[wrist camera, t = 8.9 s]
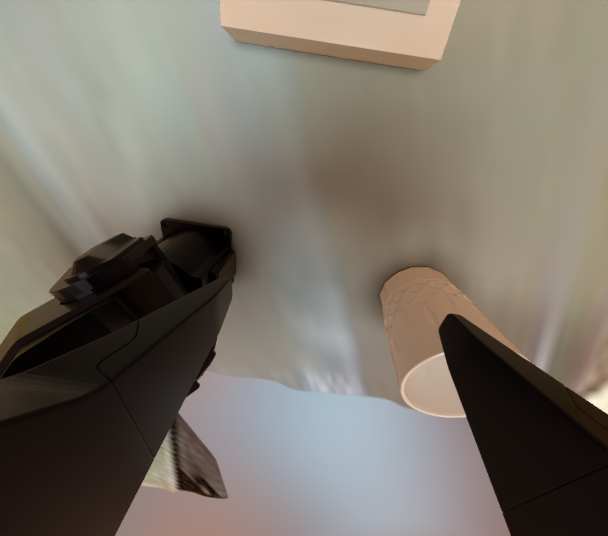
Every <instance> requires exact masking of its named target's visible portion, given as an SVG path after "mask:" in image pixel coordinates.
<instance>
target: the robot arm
mask: <svg viewBox="0 0 608 536" xmlns="http://www.w3.org/2000/svg"><path fill="white" fill-rule="evenodd" d="M166 223H167V224H168V225H169V226H167V225H166ZM160 224H161V229H162V234H163V238H161V239H160V240H158V241H156V240H155V238H154V237H153V236H152V235H149V236H146V237H144V238H142V237H138V238H136V237H134V238H133V237H131V236H129V235H126V234H124V233H122V234H119V235H116V236H114V237H112V238H110V239H108V240H106V241H104V242H102V243H100V244H98V245H97V246H95V247H93V248H91V249H90V250H88V251H87V252H86V253H84V254H83V255H82V256H80V257H79V258H78V259H76V260H75V261H74V263H73V267H71V268H70V269H68V271H67V272H66V273H65V274H64V275H63V276H62V277H61V278H60V279H59V280H58V282H57V283H56V284H55V285H54V286H53V287H52V288H51V289H50V291H49V292H50V293H51V294H52V295H53V296H54V297H55V298H54V299H52V300H50V301H48V302H47V303H45V304H43V305H41V306H39V307H38V308H36V309H34V310H32V311H30V312H29V313H27V314H25V315H24V316H22V317H21V318H19V320H18V321H17V322H16V323H15V325H14V326H13V328H12V329H11V330H10V332H9V333H8V335H7V336H6V338H5V339H4V341H3V342H2V343H1V345H0V536H115V534H116V532H117V530H118V528H119V526H120V524H121V522H122V520H123V519H124V517H125V515H126V513H127V511H128V509H129V507H130V505H131V503H132V501H133V499H134V497H135V495H136V493H137V491H138V489H139V487H140V486H141V484H142V482H143V480H144V478H145V476H146V474H147V472H148V470H149V468H150V466H151V464H152V462H153V460H154V457H155V456H156V454H157V452H158V450H159V448H160V446H161V444H162V443H163V441H164V439H165V437H166V435H167V433H168V431H169V429H170V427H171V425H172V423H173V421H174V419H175V417H176V415H177V413H178V412H179V410H180V408H181V406H182V404H183V402H184V400H185V398H186V397H187V396H188V395H190V394H191V393H193V392H194V391H195V390H197V389H198V388H199V386H200V384H199V383H198V382H197V380H198V379H199V378H200V377H201V376H202V375H203V373H204V372H205V371H206V369H207V368H208V367H209V366H210V364H211V362H212V361H213V359H214V357H215V355H216V352H215V351H214V349H215V345H216V341H217V336H218V334H219V332H220V329H221V327H222V324H223V321H224V319H225V316H226V313H227V311H228V308H229V305H230V303H231V300H232V284H233V282H234V275H235V273H236V265H235V251H234V250H233V249H232V232H231V230H230V229H229V228H226V227H220V226H213V225H207V224H200V223H194V222H187V221H181V220H175V219H168V218H165V219H164V220H162V221H161V222H160ZM224 232H226V233H227V234H228V235H225V234H224ZM439 336H440V340H441V344H442V347H443V351H444V355H445V359H446V363H447V366H448V369H449V372H450V375H451V377H452V380H453V383H454V385H455V388H456V391H457V393H458V396H459V399H460V401H461V404H462V407H463V409H464V412H465V414H466V417H467V420H468V422H469V425H470V428H471V430H472V433H473V436H474V438H475V441H476V444H477V446H478V449H479V451H480V454H481V457H482V460H483V462H484V465H485V468H486V470H487V473H488V475H489V478H490V481H491V483H492V486H493V489H494V491H495V494H496V496H497V499H498V502H499V505H500V507H501V510H502V511H503V516H504V518H505V521H506V524H507V526H508V529H509V532H510V534H511V536H608V414H606V413H605V412H603V411H602V410H600V409H599V408H597V407H596V406H594V405H593V404H591V403H590V402H588V401H587V400H585V399H584V398H582V397H581V396H579V395H578V394H576V393H575V392H573V391H572V390H570V389H569V388H567V387H565V386H564V385H563V384H562V383H560V382H559V381H557V380H556V379H554V378H553V377H551V376H550V375H548V374H547V373H545V372H544V371H542V370H541V369H539V368H538V367H536V366H535V365H534V364H532V363H531V362H529V361H528V360H526V359H525V358H523V357H522V356H520V355H519V354H517V353H516V352H514V351H513V350H511V349H510V348H508V347H507V346H506V345H504V344H503V343H501V342H500V341H498V340H497V339H495V338H494V337H492V336H491V335H489V334H488V333H486V332H485V331H483V330H482V329H480V328H479V327H478V326H476V325H475V324H473V323H472V322H470V321H469V320H467V319H466V318H464V317H463V316H461V315H459V314H453V313H449V314H448V315H447V316H446V317H445V319H444V320H443V322H442V323H441V325H440V327H439Z"/></svg>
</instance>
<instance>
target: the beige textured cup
mask: <svg viewBox="0 0 608 536" xmlns="http://www.w3.org/2000/svg"><path fill="white" fill-rule="evenodd" d="M380 300H381V306H382V310H383V314H384V317H383V319H384V323H385V328H386V333H387V338H388V342H389V346H390V350H391V354H392V358H393V362H394V366H395V370H396V374H397V379H398V383H399V387H400V391H401V395H402V397H403V399H404V401H405V402H406V403H407V404H408V405H409V406H411V407H412V408H414V409H415V410H417V411H420V412H422V413H425V414H428V415H433V416H438V417H449V418H457V417H466V414H465V412H464V409H463V407H462V404H461V401H460V399H459V396H458V393H457V391H456V388H455V385H454V383H453V380H452V377H451V375H450V372H449V369H448V366H447V363H446V359H445V355H444V351H443V347H442V344H441V340H440V336H439V327H440V325H441V323H442V322H443V320H444V319H445V317H446V316H447V315H448V314H449V313H453V314H459V315H461V316H463V317H464V318H466V319H467V320H469V321H470V322H472V323H473V324H475V325H476V326H478V327H479V328H480V329H482V330H483V331H485V332H486V333H488V334H489V335H491V336H492V337H494V338H495V339H497V340H498V341H500V342H501V343H503V344H504V345H506V346H507V347H508V348H510V349H511V350H513V351H514V352H516V353H517V354H519V355H520V356H522V357H523V358H525V359H526V360H528V359H527V358H526V357H525V356H524V355H523V354H522V353H521V352H520V351H519V350H518V349H517V348H516V347H515V346H514V345H513V344H512V343H511V342H510V341H509V340H508V339H507V337H506V336H505V335H504V334H503V333H502V332H501V331H500V330H499V329H498V328H497V327H496V326H495V325H494V324H493V323H492V322H491V321H490V320H489V319H488V318H487V317H486V316H485V314H484V313H483V312H482V311H481V310H480V309H479V308H478V307H477V306H476V305H475V304H473V303H472V302H471V301H470V300H469V299H468V298H467V297H466V296H465V295H464V294H463V293H462V292H461V291H460V290H458V289H457V288H456V287H455V286H454V285H453V284H452V283H451V282H450V281H449V280H448V279H447V278H446V276H445V275H444V274H443V273H441V272H439V271H436V270H434V269H432V268H430V267H411V268H408V269H405V270H403V271H400V272H397V273H396V274H394V275H393V276H392V277H391V278H390V279H389V280H387V281H386V282H385V284H384V286H383V288H382V290H381V293H380ZM528 361H529V360H528ZM529 362H530V361H529Z"/></svg>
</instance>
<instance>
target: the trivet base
mask: <svg viewBox="0 0 608 536" xmlns="http://www.w3.org/2000/svg"><path fill="white" fill-rule="evenodd" d="M460 1H461V0H220V15H221V26H222V27H223V28H224V29H225V30H226V31H227V32H228V33H229V34H230V35H231V36H232V37H233V38H234V39H235V40H236V41H237V42H244V43H250V44H256V45H263V46H269V47H276V48H282V49H288V50H295V51H301V52H308V53H314V54H320V55H327V56H333V57H340V58H346V59H352V60H359V61H365V62H372V63H378V64H384V65H391V66H397V67H404V68H410V69H416V70H425V69H427V68H428V67H430V66H432V65H433V64H435V63H437V62H438V61H440V60H441V57H442V54H443V51H444V49H445V46H446V43H447V40H448V37H449V34H450V31H451V28H452V25H453V22H454V19H455V16H456V13H457V10H458V7H459V4H460Z"/></svg>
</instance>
